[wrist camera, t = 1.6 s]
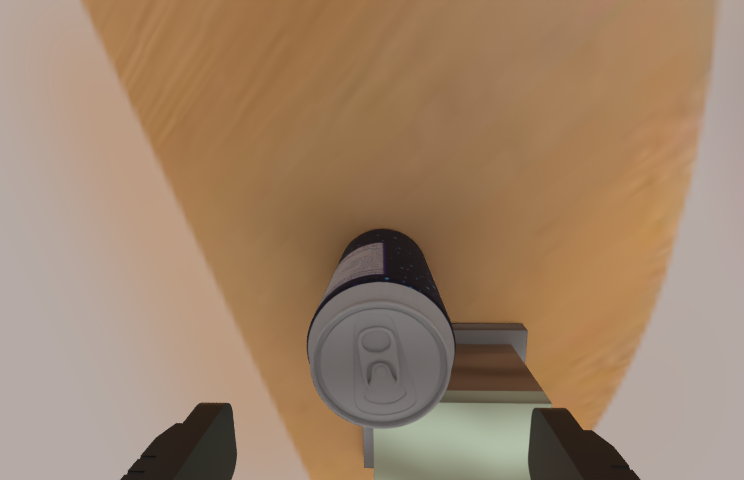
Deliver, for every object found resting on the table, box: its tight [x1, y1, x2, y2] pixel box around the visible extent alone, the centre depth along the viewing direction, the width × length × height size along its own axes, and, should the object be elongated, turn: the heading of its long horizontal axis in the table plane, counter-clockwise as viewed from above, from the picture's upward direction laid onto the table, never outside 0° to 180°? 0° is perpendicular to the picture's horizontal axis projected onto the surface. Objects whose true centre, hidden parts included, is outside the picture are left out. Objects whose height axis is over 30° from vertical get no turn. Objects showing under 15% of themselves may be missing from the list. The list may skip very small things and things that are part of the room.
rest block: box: [363, 324, 552, 480], centre depth 22 cm, size 11×11×7 cm
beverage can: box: [307, 229, 456, 429], centre depth 18 cm, size 6×6×12 cm
